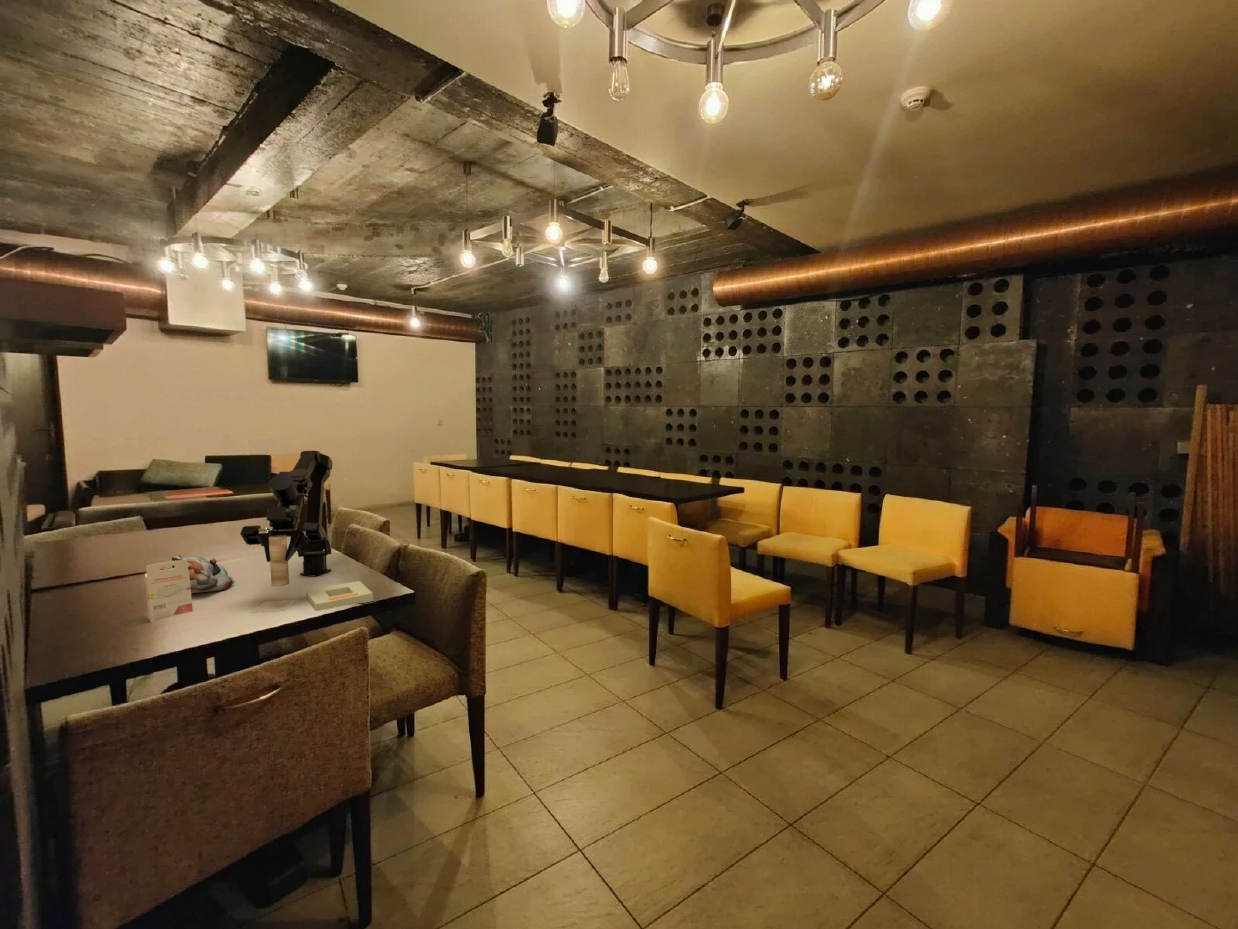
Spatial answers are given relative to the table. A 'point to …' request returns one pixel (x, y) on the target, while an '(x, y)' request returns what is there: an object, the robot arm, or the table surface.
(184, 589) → the ink cartridge box
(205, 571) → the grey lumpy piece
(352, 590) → the socket block
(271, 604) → the tab
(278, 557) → the birch peg
